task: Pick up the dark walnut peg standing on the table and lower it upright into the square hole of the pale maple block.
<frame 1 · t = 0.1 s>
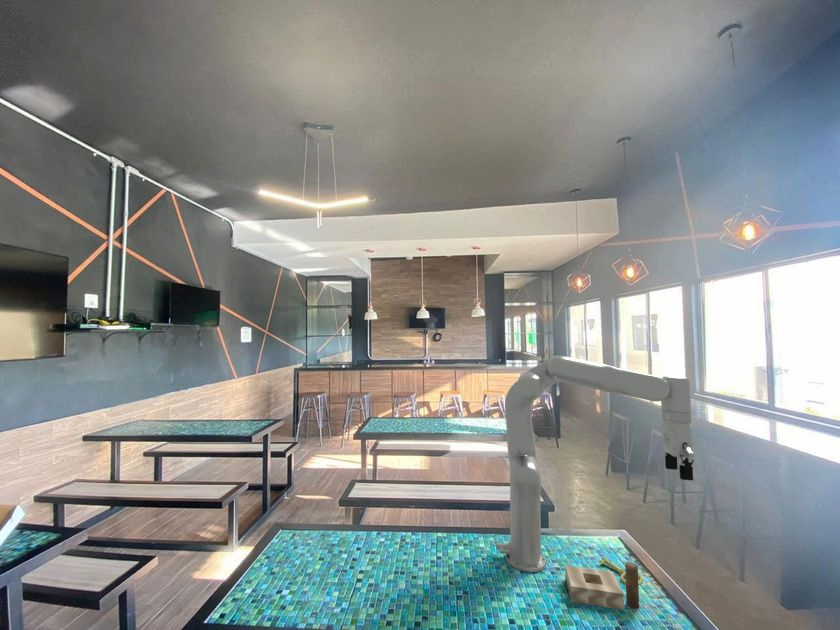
hand: (678, 474, 112), 31 cm above the table, tool pointing down, fingers open, 9 cm apart
maple hole block: (593, 593, 104), on the table
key: (621, 576, 113), on the table
walnut peg: (632, 604, 100), on the table
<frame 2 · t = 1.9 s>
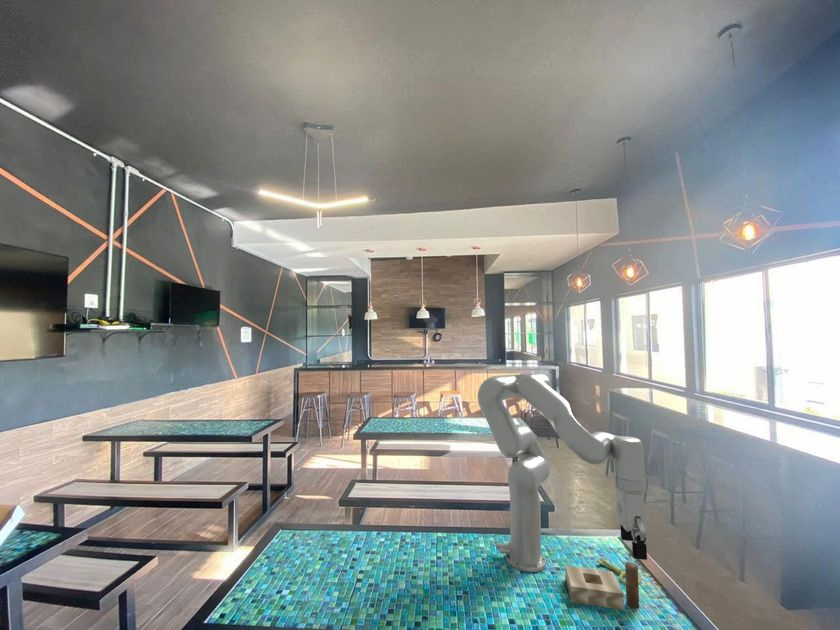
hand: (633, 549, 101), 14 cm above the table, tool pointing down, fingers open, 9 cm apart
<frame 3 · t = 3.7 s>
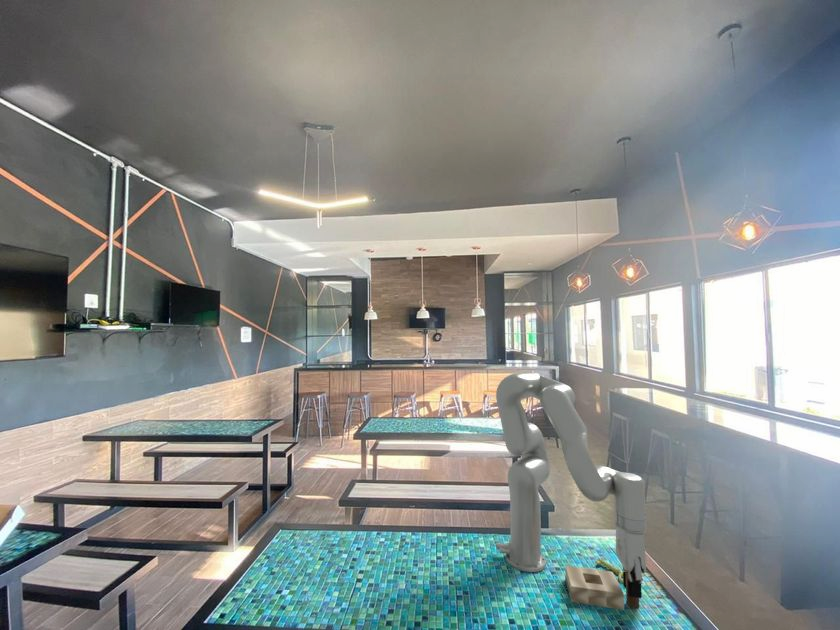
hand: (632, 591, 100), 3 cm above the table, tool pointing down, fingers closed on walnut peg, 2 cm apart
walnut peg: (632, 604, 100), on the table, touching gripper
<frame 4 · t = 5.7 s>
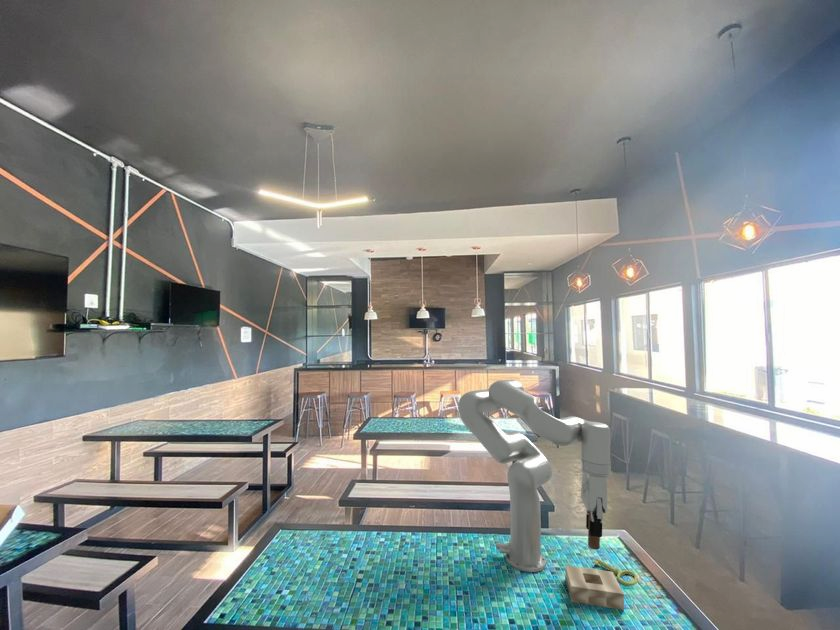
hand: (593, 531, 105), 17 cm above the table, tool pointing down, fingers closed on walnut peg, 3 cm apart
walnut peg: (593, 546, 105), point 13 cm above the table, touching gripper
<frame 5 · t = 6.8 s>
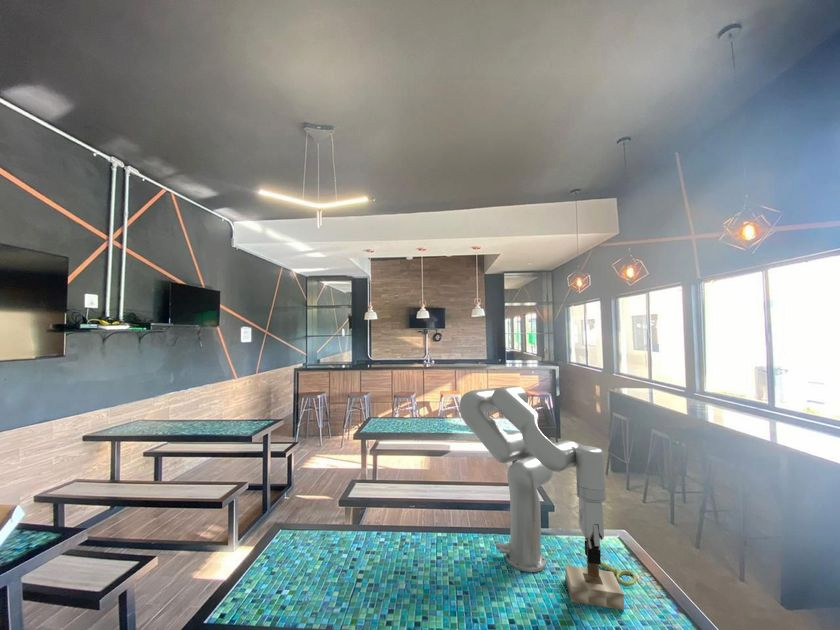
hand: (592, 558, 105), 9 cm above the table, tool pointing down, fingers closed on walnut peg, 3 cm apart
walnut peg: (593, 573, 104), point 5 cm above the table, touching gripper
when the fingers open (6 cm above the table, at t = 7.8 s): walnut peg drops 1 cm, resting on maple hole block.
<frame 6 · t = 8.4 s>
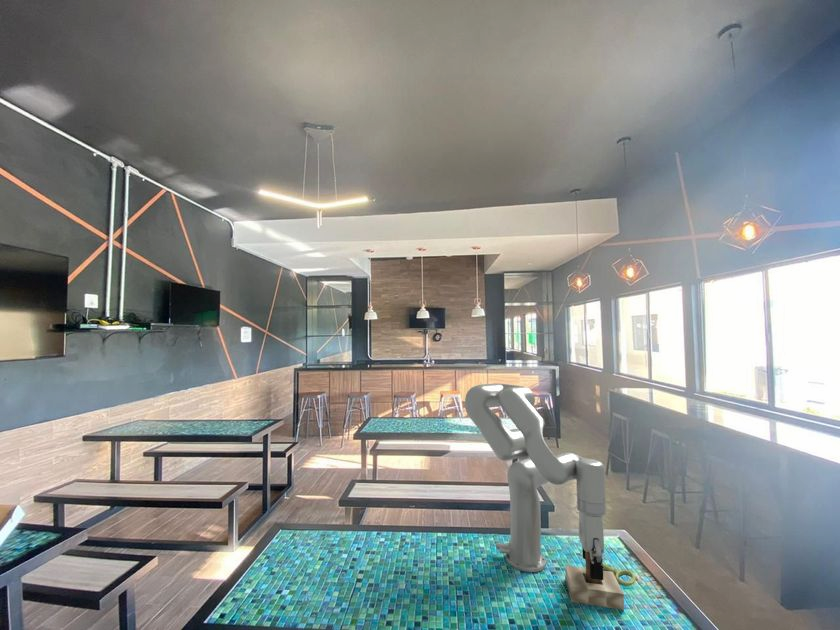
hand: (592, 568, 104), 7 cm above the table, tool pointing down, fingers open, 9 cm apart
walnut peg: (593, 592, 104), resting on maple hole block
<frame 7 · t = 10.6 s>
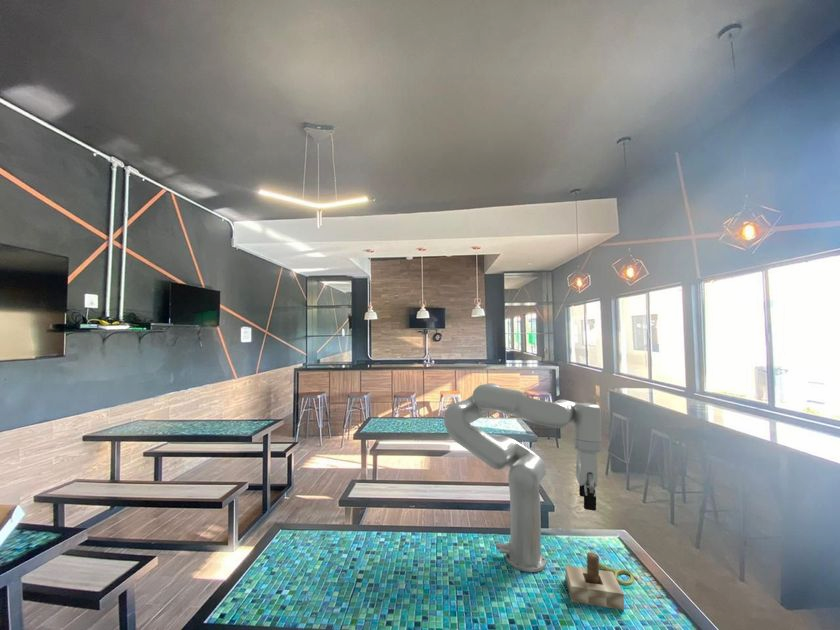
hand: (587, 502, 112), 22 cm above the table, tool pointing down, fingers open, 9 cm apart
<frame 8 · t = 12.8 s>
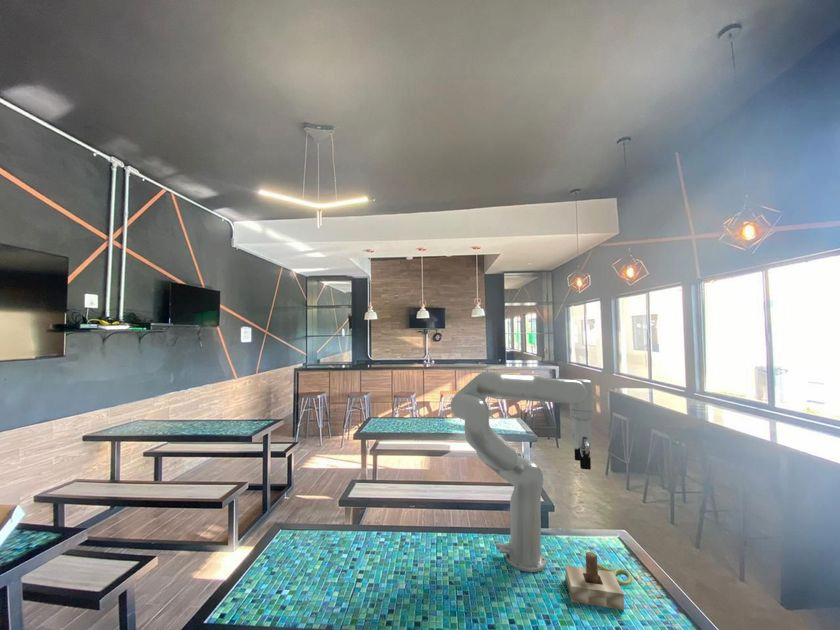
hand: (582, 464, 129), 28 cm above the table, tool pointing down, fingers open, 9 cm apart
at the end: walnut peg 0.0 cm off-centre on the maple hole block, point 0.2 cm above the maple hole block's base; walnut peg tilted 2°; the gripper is holding nothing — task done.
